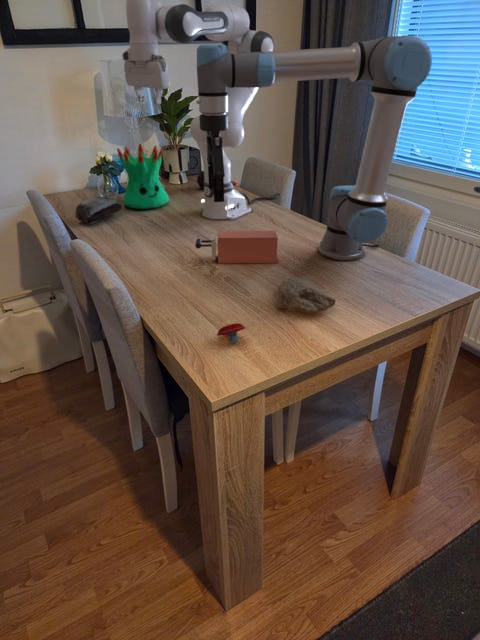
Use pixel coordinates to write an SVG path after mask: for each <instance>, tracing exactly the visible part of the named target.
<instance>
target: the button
mask: <svg viewBox="0 0 480 640" xmlns="http://www.w3.org/2000/svg"><path fill="white" fill-rule="evenodd" d="M245 329H246V326H244V325H243V324H241V323H238V322H236V323H229V324H227V325H225V326H222V327H221V328H220V329H218V331H217V333H216V336H217V337H222V336H228V342H229V343H230V344H233V345H235V344H236V343H237V342H239V337H238V336H237V333H238V332H240V331H243V330H245Z"/></svg>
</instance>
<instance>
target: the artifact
mask: <svg viewBox="0 0 480 640" xmlns="http://www.w3.org/2000/svg"><path fill="white" fill-rule="evenodd" d="M335 304H336V299H335V298H333V297H331V295H329V294H327V293H326V292H324V291H323V290H321V288H319V287H318V286H317V285H316V284H315V282H314V280H312V278H311V277H310V276H309V275H301V276H298V277H294V278H288V280H283V281H282V282H281V283H280V284H279V286H278V287H277V297H276V301H275V306H276V307H277V308H278V310H280V311H281V310H284V309H286V308H287V309H289V311H298V312H304V313H311V314H313V313H314V314H315V313H317V312H320V311H327V310H328V309H330V308H333V307H334V306H335Z"/></svg>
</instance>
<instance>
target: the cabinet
mask: <svg viewBox="0 0 480 640" xmlns="http://www.w3.org/2000/svg"><path fill="white" fill-rule="evenodd" d="M278 238H279V237H278V234H277V230H217V263H218V264H276V263H277V259H278V243H279V242H278V241H279V240H278Z"/></svg>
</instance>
